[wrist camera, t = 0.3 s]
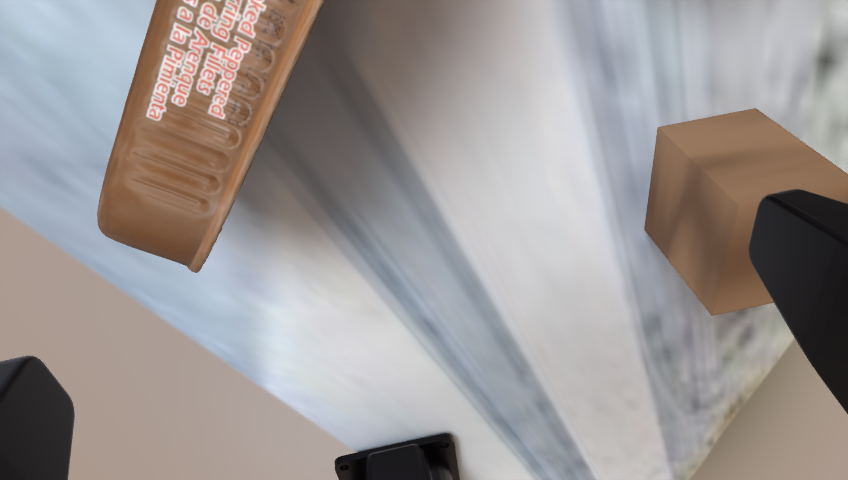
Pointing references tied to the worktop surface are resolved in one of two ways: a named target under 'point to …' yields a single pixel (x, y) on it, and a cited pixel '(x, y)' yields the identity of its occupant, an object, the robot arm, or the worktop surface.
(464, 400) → the worktop surface
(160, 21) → the tin
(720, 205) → the block
